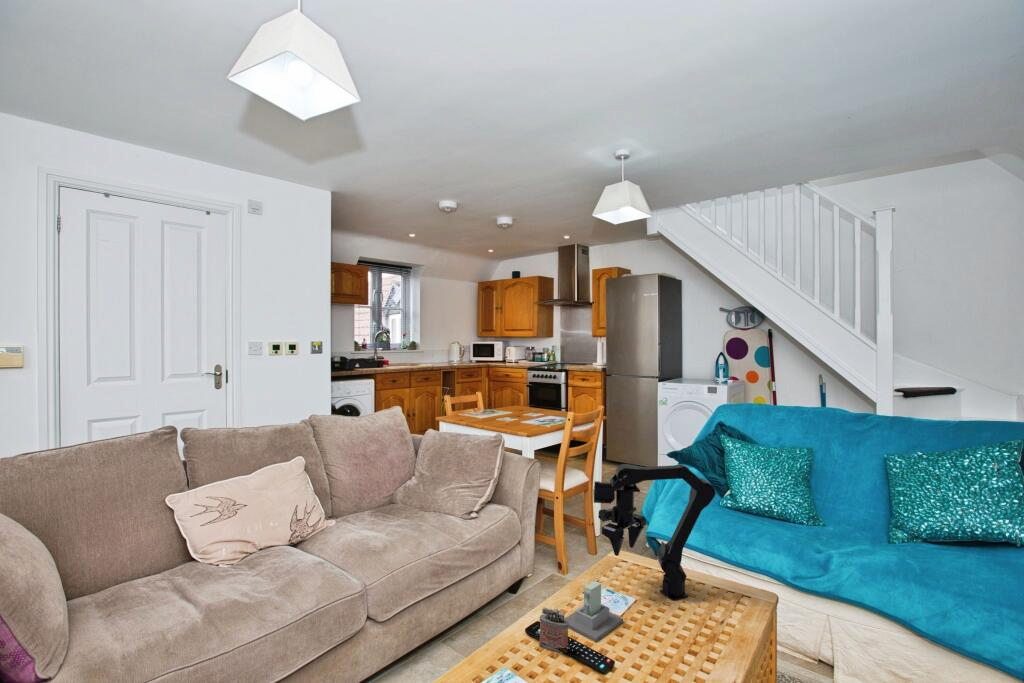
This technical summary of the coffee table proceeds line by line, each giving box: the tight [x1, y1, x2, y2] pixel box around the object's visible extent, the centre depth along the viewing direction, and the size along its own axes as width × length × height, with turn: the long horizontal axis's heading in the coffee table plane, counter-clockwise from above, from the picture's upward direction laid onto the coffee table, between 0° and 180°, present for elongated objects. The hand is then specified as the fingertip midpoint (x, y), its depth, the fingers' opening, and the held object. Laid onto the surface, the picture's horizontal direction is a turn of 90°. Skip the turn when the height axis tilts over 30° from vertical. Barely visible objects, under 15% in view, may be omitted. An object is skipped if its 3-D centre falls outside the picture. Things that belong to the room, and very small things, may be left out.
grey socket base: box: [564, 603, 624, 643], centre depth 143 cm, size 12×14×4 cm
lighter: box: [538, 607, 569, 654], centre depth 131 cm, size 8×3×10 cm, turn 65°
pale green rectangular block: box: [583, 580, 602, 617], centre depth 143 cm, size 2×6×10 cm, turn 134°
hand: (624, 551), depth 162 cm, fingers open, 9 cm apart
